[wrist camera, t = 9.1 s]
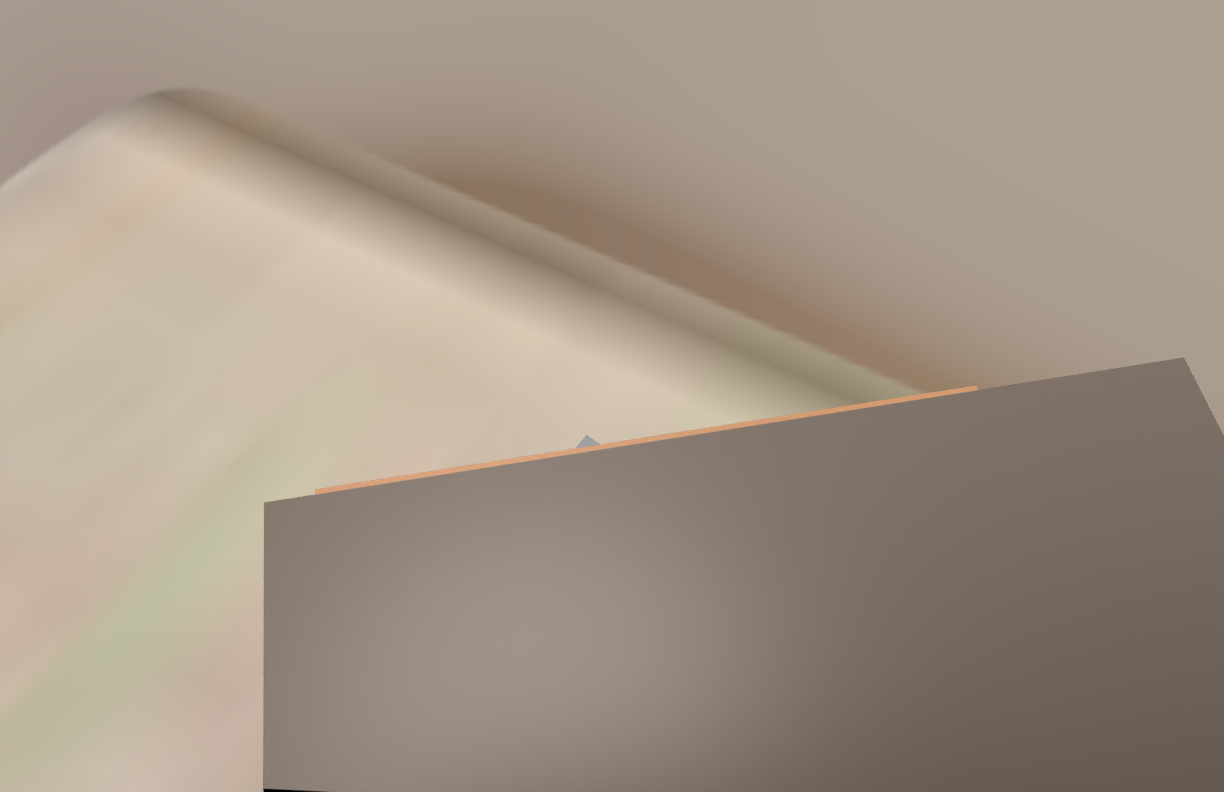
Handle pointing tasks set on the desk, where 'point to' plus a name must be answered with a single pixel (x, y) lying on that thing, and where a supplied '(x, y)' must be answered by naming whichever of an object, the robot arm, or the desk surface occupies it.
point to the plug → (773, 606)
